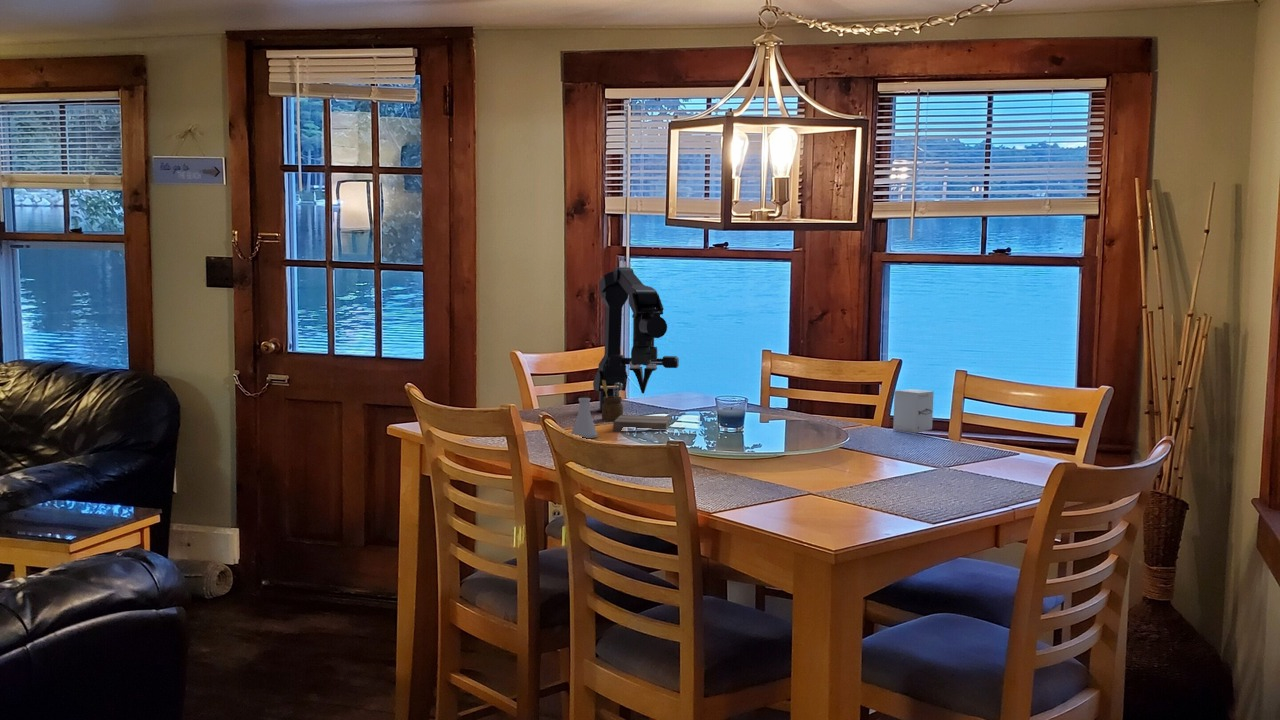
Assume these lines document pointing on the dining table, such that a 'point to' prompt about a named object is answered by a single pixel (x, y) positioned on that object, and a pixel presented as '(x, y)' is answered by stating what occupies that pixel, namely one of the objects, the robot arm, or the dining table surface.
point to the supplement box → (913, 410)
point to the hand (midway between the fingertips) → (643, 393)
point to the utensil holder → (611, 405)
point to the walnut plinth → (641, 422)
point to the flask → (584, 420)
